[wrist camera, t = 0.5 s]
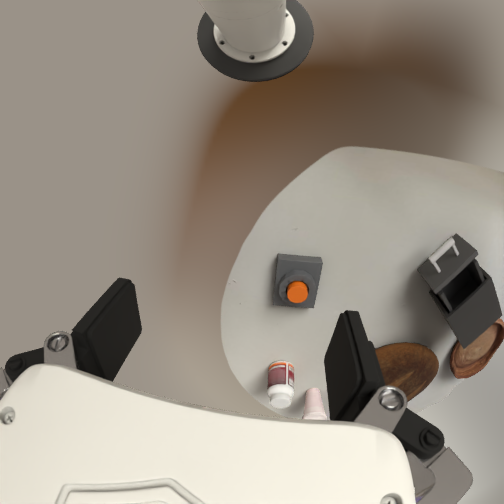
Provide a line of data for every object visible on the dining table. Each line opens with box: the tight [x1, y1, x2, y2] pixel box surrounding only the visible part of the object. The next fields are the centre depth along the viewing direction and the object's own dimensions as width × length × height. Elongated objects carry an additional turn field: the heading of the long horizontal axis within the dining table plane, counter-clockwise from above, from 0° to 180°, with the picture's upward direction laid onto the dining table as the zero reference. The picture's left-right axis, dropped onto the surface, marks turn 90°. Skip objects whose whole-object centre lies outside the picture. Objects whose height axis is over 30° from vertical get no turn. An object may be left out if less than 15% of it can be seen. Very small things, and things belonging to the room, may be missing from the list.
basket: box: [450, 319, 504, 379], centre depth 54 cm, size 22×20×5 cm
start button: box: [287, 281, 308, 303], centre depth 48 cm, size 4×4×2 cm
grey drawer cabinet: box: [429, 267, 502, 349], centre depth 45 cm, size 15×13×10 cm
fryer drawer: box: [418, 234, 485, 313], centre depth 43 cm, size 18×11×8 cm, turn 47°
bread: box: [375, 342, 439, 402], centre depth 58 cm, size 28×27×9 cm
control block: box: [273, 254, 323, 308], centre depth 50 cm, size 10×8×4 cm
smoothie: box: [302, 388, 327, 420], centre depth 61 cm, size 6×6×14 cm
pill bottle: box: [267, 361, 294, 409], centre depth 59 cm, size 6×6×11 cm
